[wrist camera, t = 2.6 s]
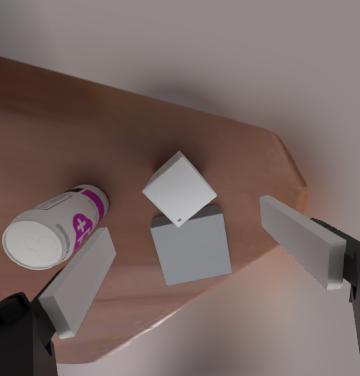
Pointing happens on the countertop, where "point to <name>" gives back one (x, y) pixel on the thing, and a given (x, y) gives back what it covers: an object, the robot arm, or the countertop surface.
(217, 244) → the slate riser block
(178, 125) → the countertop surface
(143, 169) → the countertop surface
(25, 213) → the supplement can
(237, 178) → the countertop surface
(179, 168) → the supplement box
